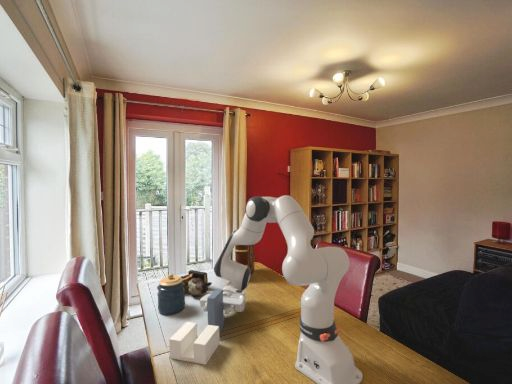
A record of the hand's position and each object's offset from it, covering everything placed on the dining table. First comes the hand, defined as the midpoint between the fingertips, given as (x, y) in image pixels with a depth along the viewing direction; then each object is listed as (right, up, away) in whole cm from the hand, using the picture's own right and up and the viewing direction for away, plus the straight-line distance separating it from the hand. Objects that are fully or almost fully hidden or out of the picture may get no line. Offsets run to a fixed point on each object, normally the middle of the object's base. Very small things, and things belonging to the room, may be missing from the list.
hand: (215, 311), depth 112 cm
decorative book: (+10, -5, +63) cm, 64 cm away
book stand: (-6, -9, -12) cm, 16 cm away
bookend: (-16, -7, +39) cm, 43 cm away
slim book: (0, -9, +1) cm, 9 cm away
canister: (-25, -8, +21) cm, 33 cm away
